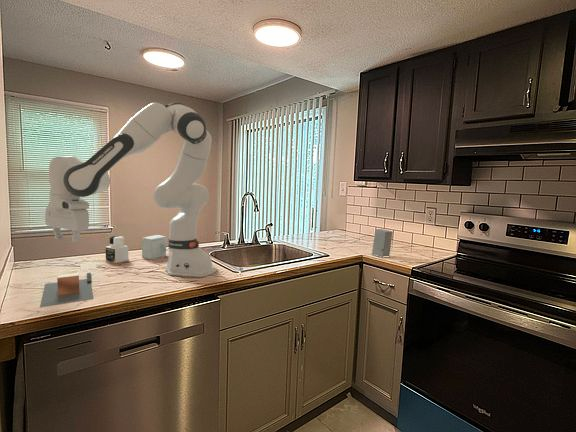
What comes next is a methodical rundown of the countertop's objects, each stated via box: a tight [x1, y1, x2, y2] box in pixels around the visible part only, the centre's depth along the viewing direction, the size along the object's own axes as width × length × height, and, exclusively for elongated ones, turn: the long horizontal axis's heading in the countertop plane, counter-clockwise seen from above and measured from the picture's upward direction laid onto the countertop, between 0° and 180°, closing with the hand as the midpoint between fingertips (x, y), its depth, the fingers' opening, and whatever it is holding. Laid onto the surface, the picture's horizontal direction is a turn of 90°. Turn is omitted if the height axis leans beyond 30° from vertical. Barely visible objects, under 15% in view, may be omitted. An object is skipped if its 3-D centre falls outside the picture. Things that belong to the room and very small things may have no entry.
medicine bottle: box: [105, 235, 129, 264], centre depth 150 cm, size 7×7×12 cm
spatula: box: [79, 262, 97, 283], centre depth 129 cm, size 6×29×2 cm, turn 33°
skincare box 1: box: [141, 234, 167, 260], centre depth 161 cm, size 10×6×10 cm, turn 156°
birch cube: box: [56, 270, 80, 295], centre depth 108 cm, size 6×6×6 cm
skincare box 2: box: [371, 228, 394, 258], centre depth 184 cm, size 8×7×16 cm
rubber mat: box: [39, 278, 95, 308], centre depth 109 cm, size 24×14×1 cm, turn 35°
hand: (66, 240), depth 112 cm, fingers open, 8 cm apart
